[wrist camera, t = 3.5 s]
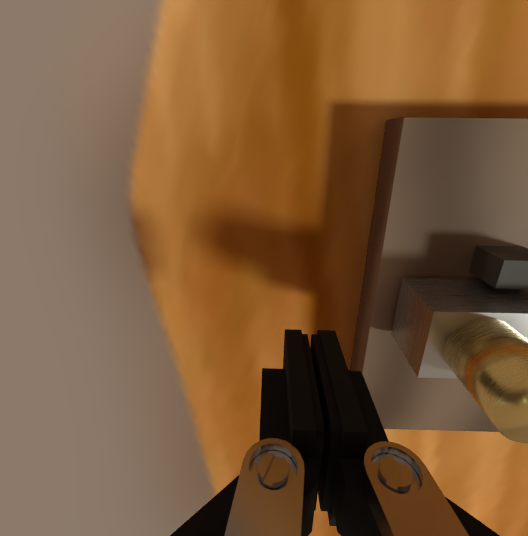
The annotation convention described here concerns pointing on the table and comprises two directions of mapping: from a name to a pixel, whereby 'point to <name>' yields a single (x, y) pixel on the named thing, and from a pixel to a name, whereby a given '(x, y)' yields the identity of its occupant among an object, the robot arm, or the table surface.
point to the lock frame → (439, 249)
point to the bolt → (470, 343)
